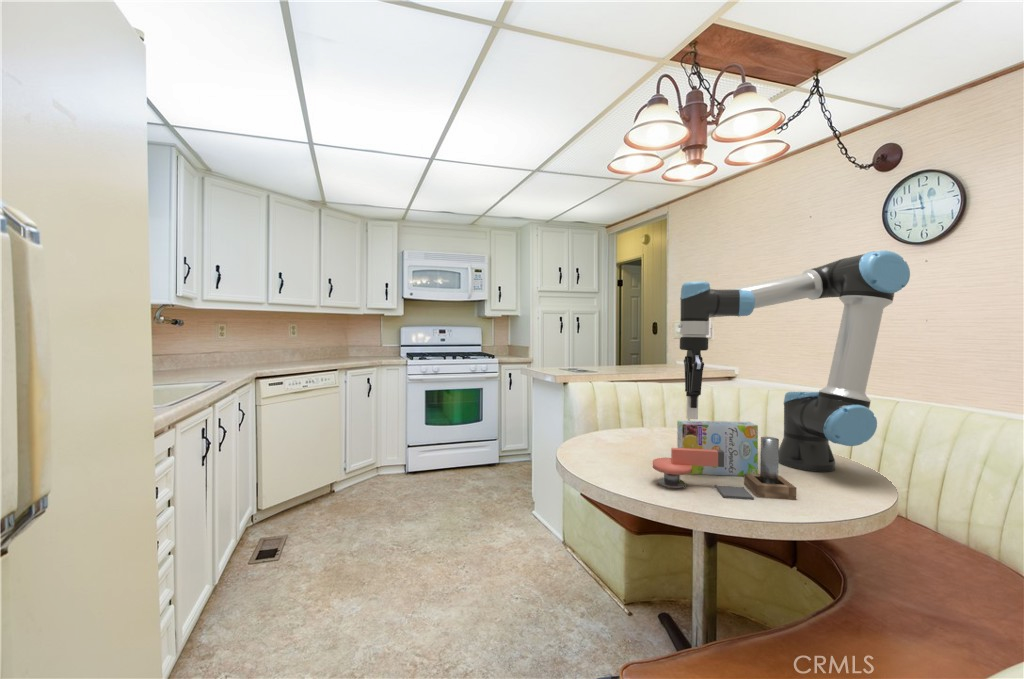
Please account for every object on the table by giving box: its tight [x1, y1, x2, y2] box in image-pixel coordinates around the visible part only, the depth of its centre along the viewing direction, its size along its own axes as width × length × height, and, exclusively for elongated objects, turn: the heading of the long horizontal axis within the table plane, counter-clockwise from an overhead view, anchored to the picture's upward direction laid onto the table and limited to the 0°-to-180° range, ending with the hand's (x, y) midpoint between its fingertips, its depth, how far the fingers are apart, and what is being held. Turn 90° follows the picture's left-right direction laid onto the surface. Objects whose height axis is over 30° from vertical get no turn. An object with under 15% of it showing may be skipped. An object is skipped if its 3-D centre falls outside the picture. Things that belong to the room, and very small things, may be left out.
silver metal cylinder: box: [759, 436, 780, 484], centre depth 110 cm, size 4×4×14 cm
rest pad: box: [714, 485, 755, 501], centre depth 109 cm, size 7×7×1 cm
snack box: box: [676, 420, 759, 477], centre depth 125 cm, size 21×6×15 cm, turn 84°
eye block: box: [743, 473, 797, 501], centre depth 110 cm, size 9×9×3 cm
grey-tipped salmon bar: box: [652, 447, 724, 476], centre depth 114 cm, size 18×10×6 cm, turn 80°
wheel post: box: [657, 473, 686, 490], centre depth 115 cm, size 7×7×4 cm
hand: (692, 418), depth 121 cm, fingers closed
